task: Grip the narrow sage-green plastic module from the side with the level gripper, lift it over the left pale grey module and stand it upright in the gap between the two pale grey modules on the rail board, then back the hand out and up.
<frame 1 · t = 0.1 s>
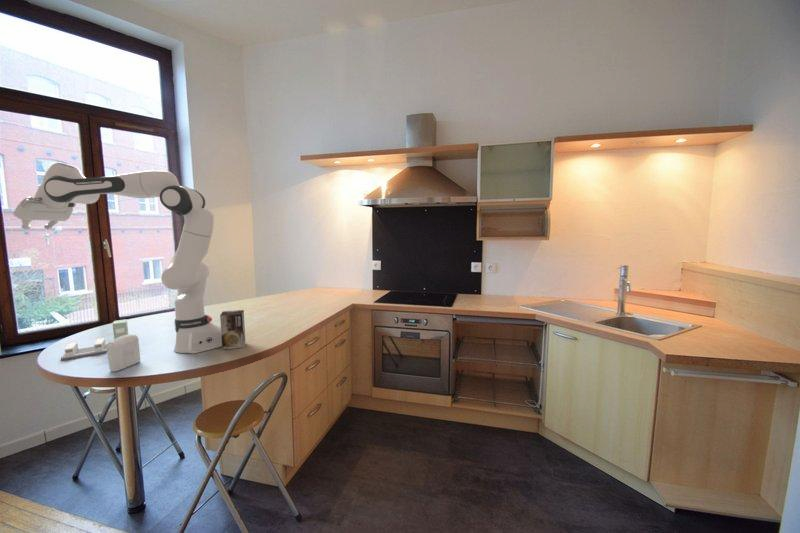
hand: (36, 228, 133), 54 cm above the table, tool tilted 30°, fingers open, 8 cm apart
loose module: (122, 346, 148), on the table
coffee box: (234, 346, 147), on the table, touching arm
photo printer: (125, 366, 127), on the table
rail board: (86, 352, 141), on the table
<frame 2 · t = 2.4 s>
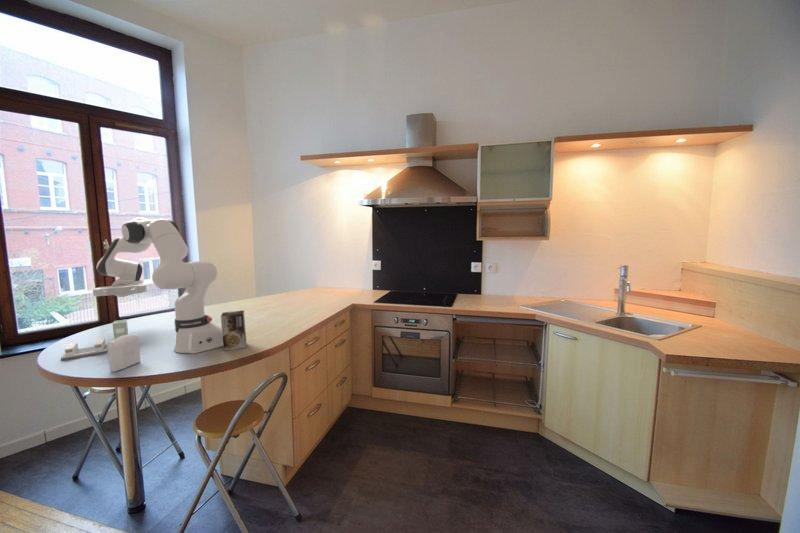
hand: (119, 292, 155), 24 cm above the table, tool horizontal, fingers open, 8 cm apart
coffee box: (235, 347, 147), on the table
everything else where it was.
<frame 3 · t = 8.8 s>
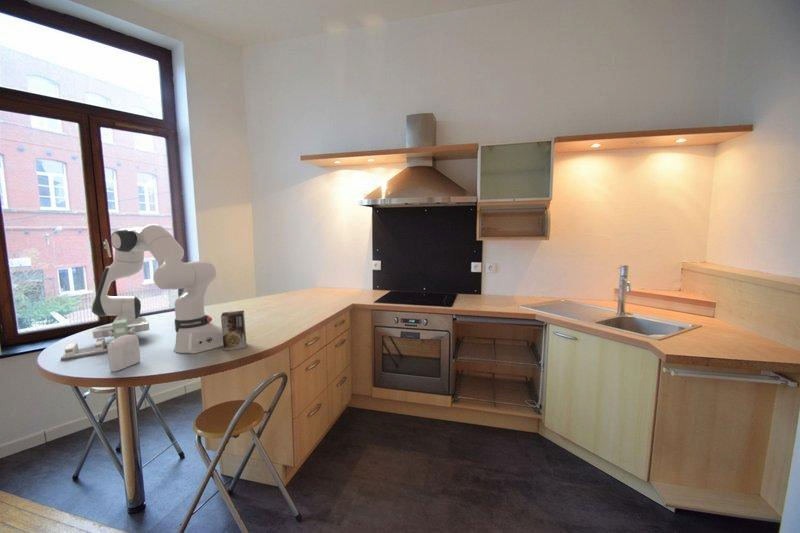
hand: (121, 333, 147), 7 cm above the table, tool horizontal, fingers closed on loose module, 4 cm apart
loose module: (122, 346, 148), on the table, touching gripper
everything else where it was.
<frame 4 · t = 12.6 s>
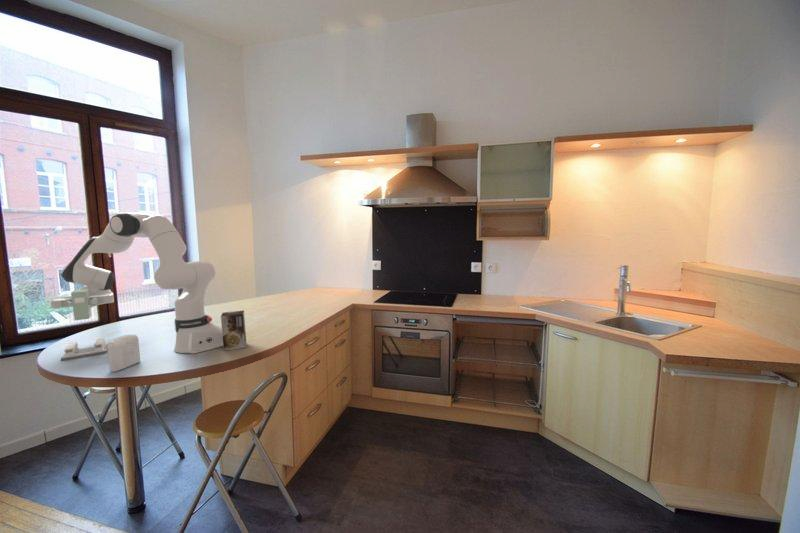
hand: (81, 303, 138), 22 cm above the table, tool horizontal, fingers closed on loose module, 4 cm apart
loose module: (83, 318, 140), point 16 cm above the table, touching gripper
everything else where it was.
when the fingers open (9 cm above the table, at t = 16.3 s): loose module drops 1 cm, resting on rail board.
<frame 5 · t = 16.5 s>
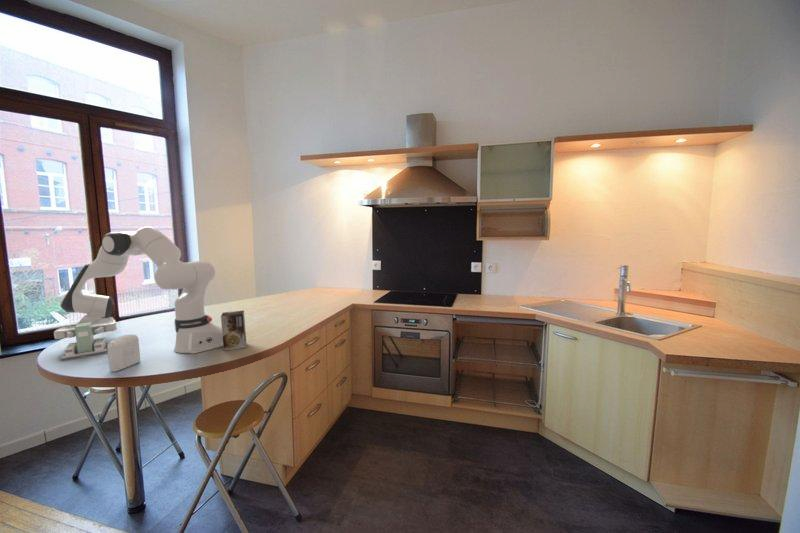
hand: (84, 334, 139), 9 cm above the table, tool horizontal, fingers open, 7 cm apart
loose module: (86, 351, 141), point 1 cm above the table, touching rail board
everything else where it was.
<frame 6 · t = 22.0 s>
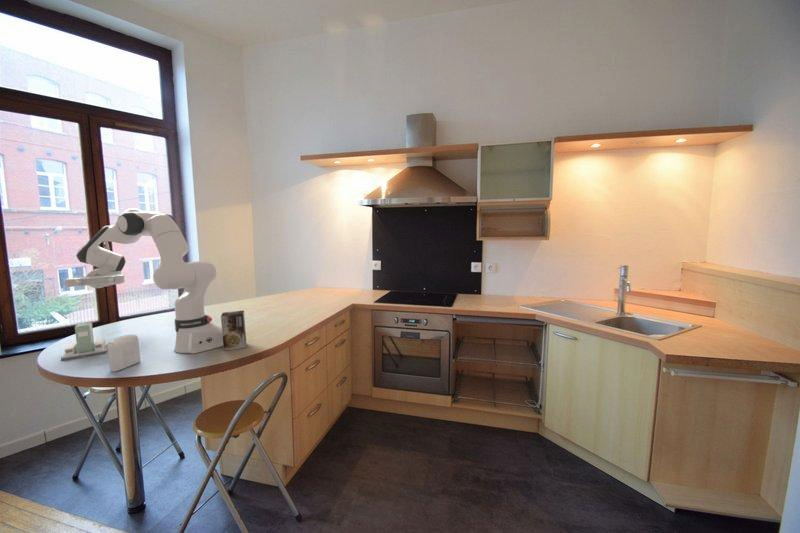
hand: (93, 282, 146), 30 cm above the table, tool horizontal, fingers open, 8 cm apart
nothing on the table moved.
at the end: loose module 0.0 cm off-centre on the rail board, point 0.8 cm above the rail board's base; loose module tilted 0°; the gripper is holding nothing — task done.
